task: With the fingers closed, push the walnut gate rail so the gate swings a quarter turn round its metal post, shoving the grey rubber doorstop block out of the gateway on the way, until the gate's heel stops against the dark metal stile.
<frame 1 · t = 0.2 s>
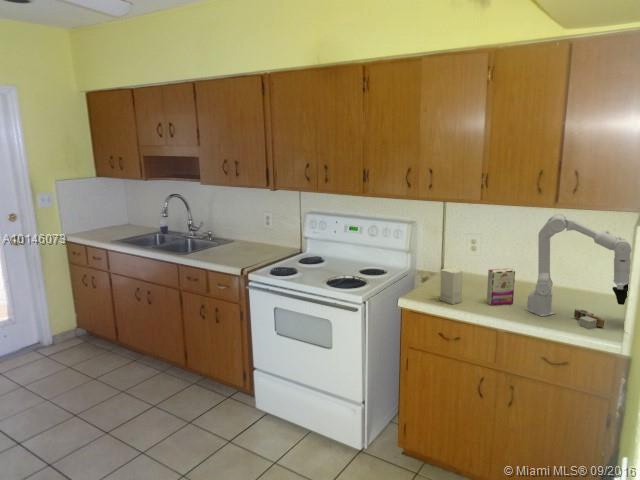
hand: (622, 301, 190), 10 cm above the table, tool pointing down, fingers open, 7 cm apart
candy bar box: (499, 303, 219), on the table
gate posts: (582, 320, 197), on the table
doorstop block: (587, 326, 191), on the table
skincare box: (450, 301, 222), on the table
gate: (588, 317, 194), point 2 cm above the table, hinge at 0.0°
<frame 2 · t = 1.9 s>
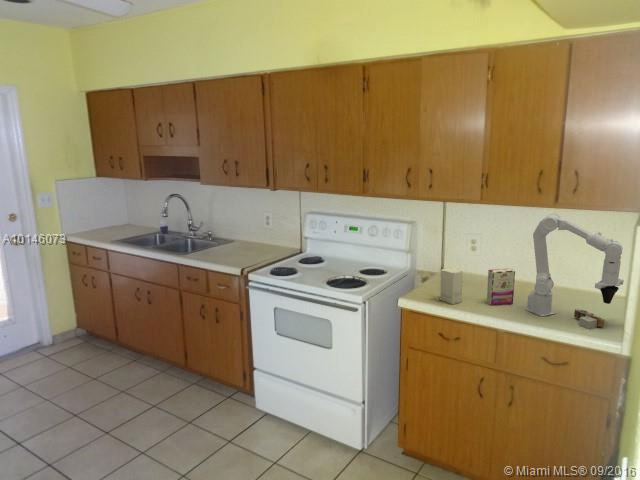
hand: (606, 303, 191), 9 cm above the table, tool pointing down, fingers closed
nothing on the table moved.
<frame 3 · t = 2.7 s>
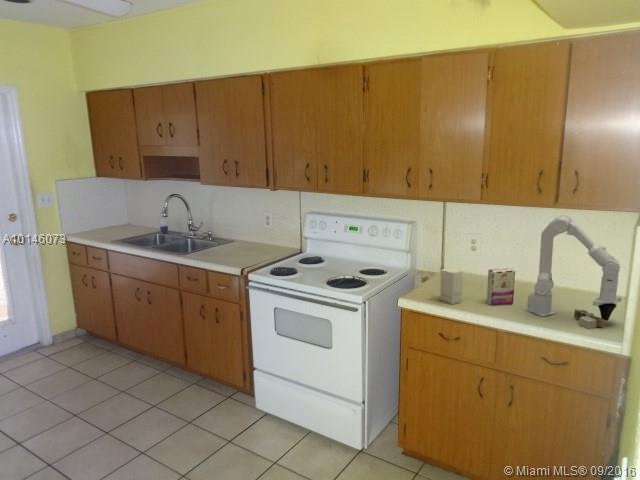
hand: (604, 319, 192), 2 cm above the table, tool pointing down, fingers closed
nothing on the table moved.
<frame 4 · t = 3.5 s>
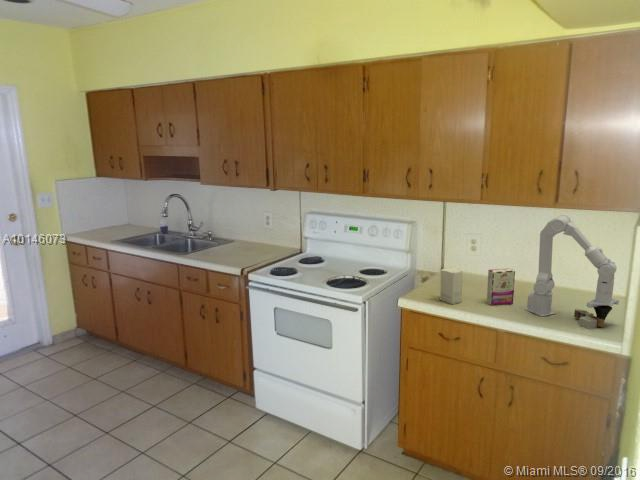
hand: (600, 322, 192), 1 cm above the table, tool pointing down, fingers closed, pressing on gate
gate: (588, 317, 194), point 2 cm above the table, hinge at 0.0°, touching gripper
everything else where it was.
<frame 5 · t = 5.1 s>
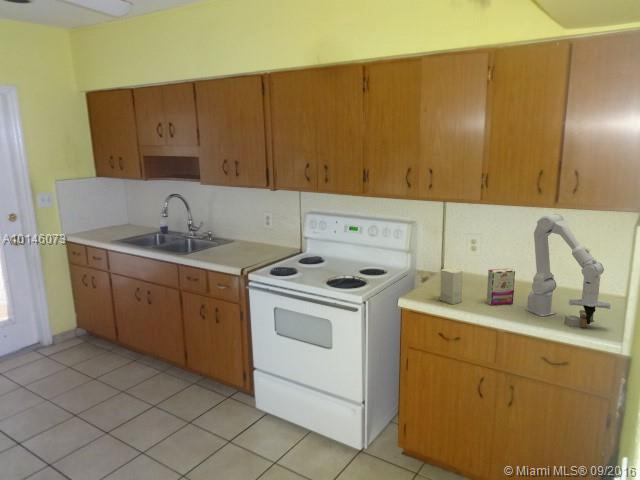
hand: (587, 323, 190), 2 cm above the table, tool pointing down, fingers closed, pressing on gate
doorstop block: (572, 325, 193), on the table, touching gate
gate: (583, 317, 194), point 2 cm above the table, hinge at -50.1°, touching doorstop block, gripper
everything else where it was.
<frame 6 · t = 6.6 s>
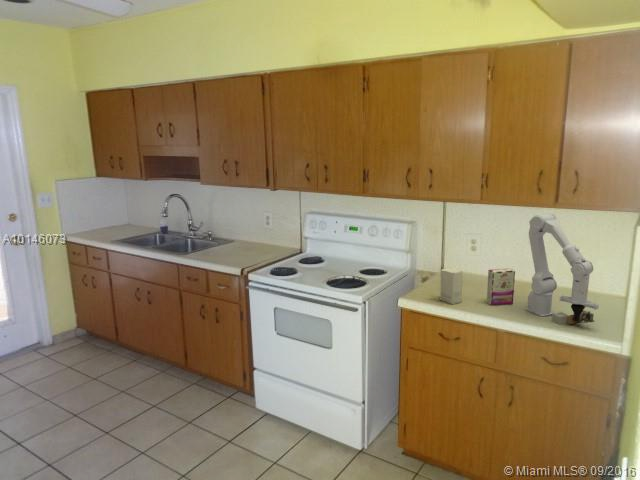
hand: (576, 321, 192), 2 cm above the table, tool pointing down, fingers closed
doorstop block: (560, 322, 196), on the table
gate: (578, 316, 195), point 2 cm above the table, hinge at -86.3°, touching gripper
everything else where it was.
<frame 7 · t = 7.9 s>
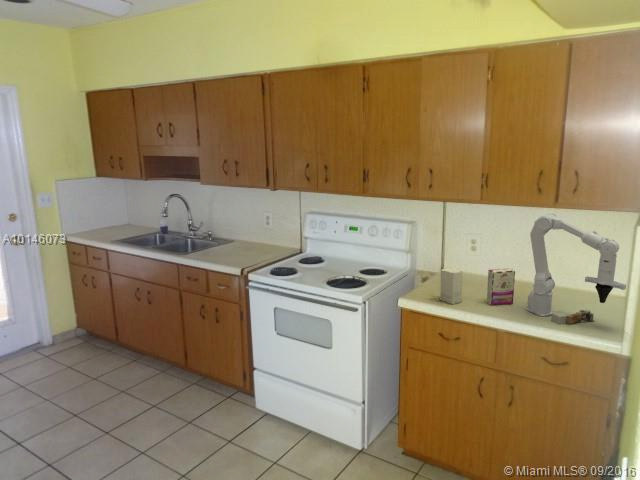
hand: (602, 302, 189), 10 cm above the table, tool pointing down, fingers closed
gate: (578, 316, 195), point 2 cm above the table, hinge at -88.1°
everything else where it was.
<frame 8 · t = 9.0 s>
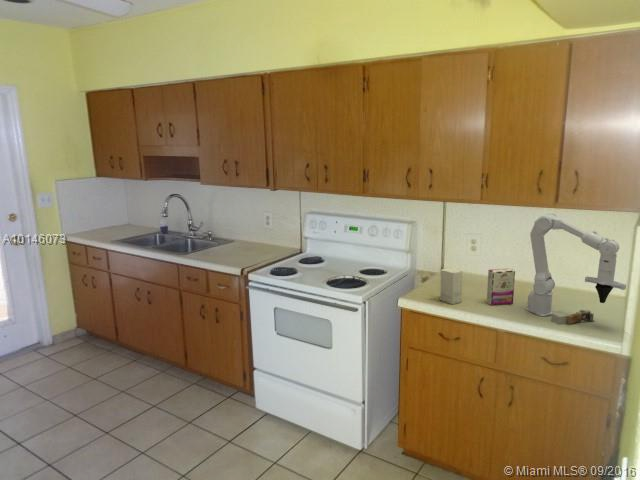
hand: (602, 302, 189), 10 cm above the table, tool pointing down, fingers closed
nothing on the table moved.
at the end: gate at -88° (first picture: +0°); doorstop block moved 10.3 cm from its start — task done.
